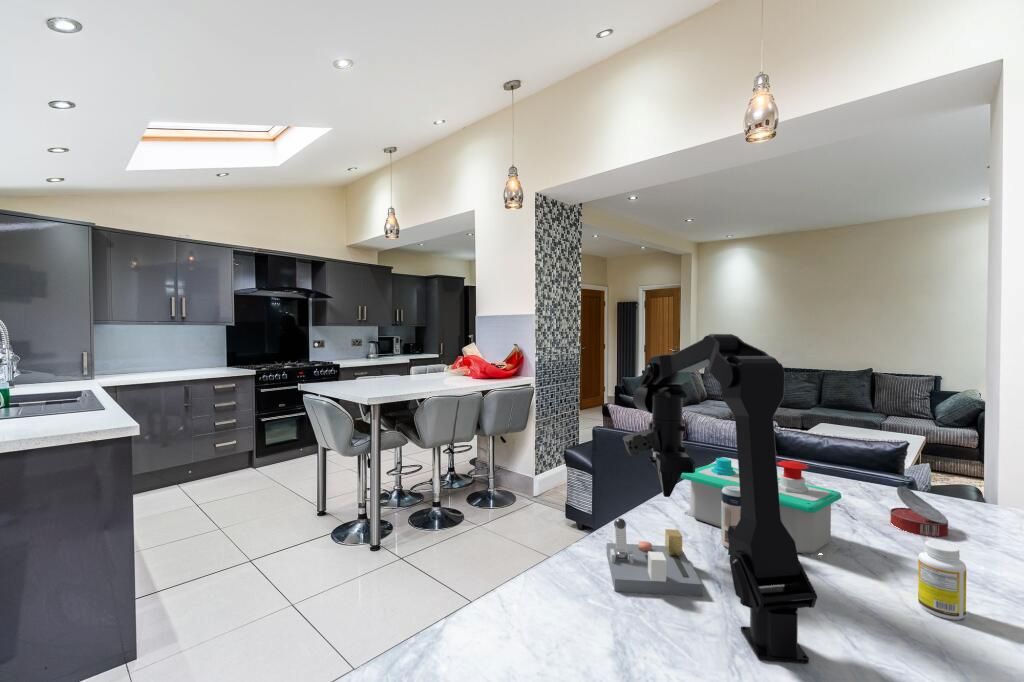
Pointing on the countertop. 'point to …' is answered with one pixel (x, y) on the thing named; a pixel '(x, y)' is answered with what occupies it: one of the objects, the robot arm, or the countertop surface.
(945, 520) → the canned food
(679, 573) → the panel
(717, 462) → the control panel
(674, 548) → the brushed brass brick
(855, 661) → the countertop surface
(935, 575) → the supplement bottle
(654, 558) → the white block
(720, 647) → the countertop surface
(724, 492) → the beer can
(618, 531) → the toggle lever
